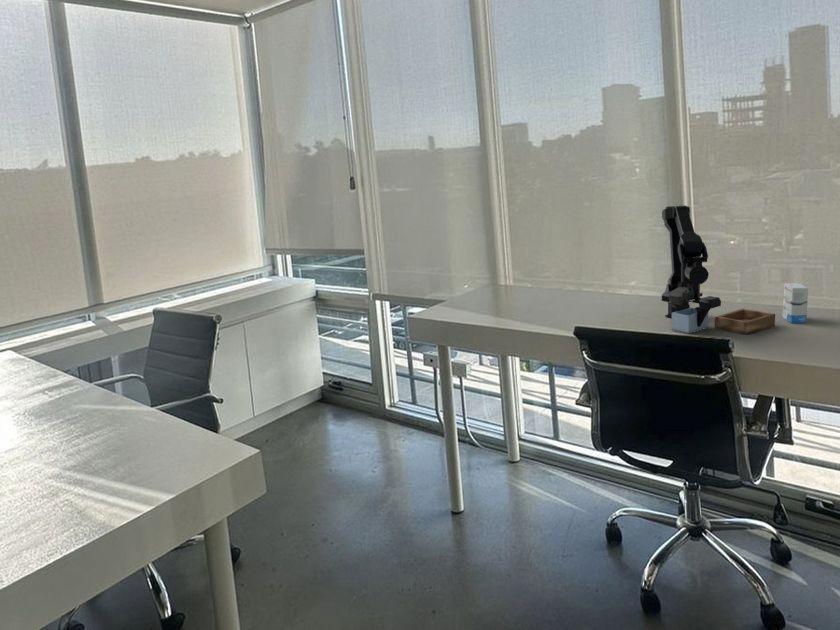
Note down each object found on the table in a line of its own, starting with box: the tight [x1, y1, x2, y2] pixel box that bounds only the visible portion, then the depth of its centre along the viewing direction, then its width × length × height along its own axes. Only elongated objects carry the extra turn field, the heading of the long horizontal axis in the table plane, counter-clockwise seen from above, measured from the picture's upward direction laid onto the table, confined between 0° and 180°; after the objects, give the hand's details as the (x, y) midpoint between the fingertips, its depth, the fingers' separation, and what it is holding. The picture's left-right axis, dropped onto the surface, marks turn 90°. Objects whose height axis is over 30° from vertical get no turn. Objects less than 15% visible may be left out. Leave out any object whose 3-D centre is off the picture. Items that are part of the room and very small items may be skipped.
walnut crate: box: [714, 308, 776, 336], centre depth 220 cm, size 11×15×4 cm
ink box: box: [782, 282, 809, 324], centre depth 223 cm, size 8×5×12 cm, turn 168°
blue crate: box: [671, 307, 709, 334], centre depth 222 cm, size 6×10×6 cm, turn 122°
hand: (689, 324), depth 222 cm, fingers closed on blue crate, 6 cm apart
